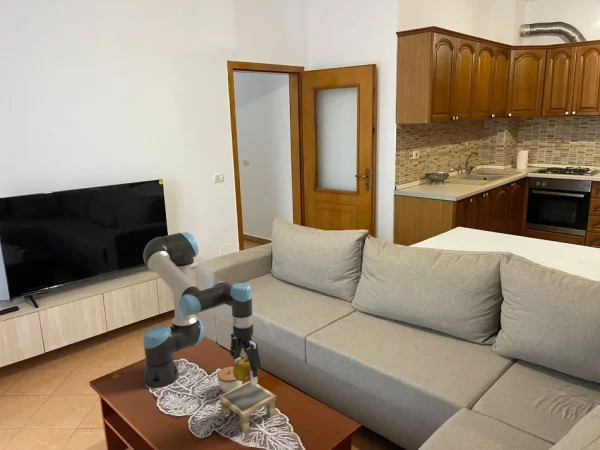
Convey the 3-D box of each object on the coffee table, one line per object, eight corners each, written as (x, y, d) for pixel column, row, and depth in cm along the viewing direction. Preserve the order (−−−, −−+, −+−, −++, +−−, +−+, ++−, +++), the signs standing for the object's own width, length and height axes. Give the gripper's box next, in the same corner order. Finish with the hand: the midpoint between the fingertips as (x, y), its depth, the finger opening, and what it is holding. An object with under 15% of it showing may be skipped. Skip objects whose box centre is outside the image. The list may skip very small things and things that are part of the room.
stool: (219, 414, 180) (218, 395, 178) (252, 397, 191) (251, 379, 189) (244, 433, 169) (242, 413, 167) (277, 414, 180) (276, 395, 178)
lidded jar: (238, 397, 191) (237, 377, 189) (214, 395, 193) (213, 375, 191) (246, 383, 201) (245, 364, 199) (223, 381, 203) (222, 362, 201)
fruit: (255, 371, 182) (254, 352, 180) (261, 383, 174) (260, 363, 172) (231, 375, 179) (230, 357, 177) (236, 388, 171) (234, 368, 169)
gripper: (218, 319, 177) (222, 371, 182) (252, 337, 161) (256, 394, 166) (234, 313, 182) (237, 364, 187) (269, 330, 166) (272, 385, 171)
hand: (246, 378), depth 176 cm, fingers closed on fruit, 9 cm apart
